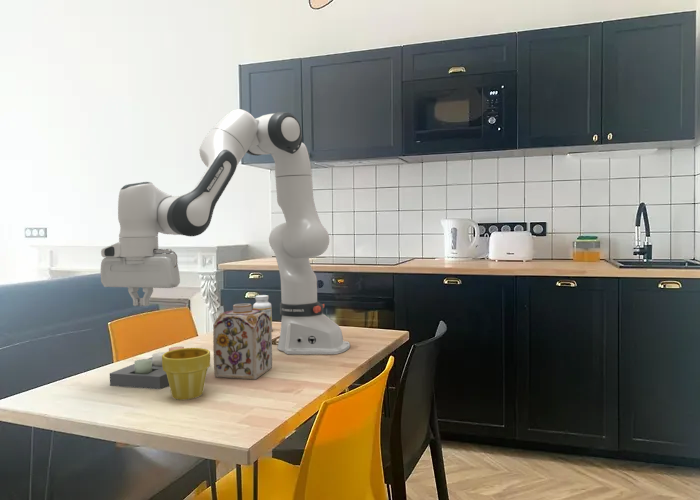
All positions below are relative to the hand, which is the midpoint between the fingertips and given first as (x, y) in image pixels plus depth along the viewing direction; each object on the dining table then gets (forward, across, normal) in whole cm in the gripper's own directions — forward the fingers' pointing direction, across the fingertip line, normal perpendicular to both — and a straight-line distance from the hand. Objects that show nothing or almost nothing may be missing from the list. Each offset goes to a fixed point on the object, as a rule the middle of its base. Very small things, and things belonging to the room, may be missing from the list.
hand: (141, 305), depth 132 cm
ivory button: (+17, 0, -7) cm, 18 cm away
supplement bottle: (+19, -1, -66) cm, 69 cm away
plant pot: (+19, -16, +6) cm, 26 cm away
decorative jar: (+19, -20, -14) cm, 31 cm away
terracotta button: (+17, 0, -14) cm, 22 cm away
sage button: (+17, 0, 0) cm, 17 cm away
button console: (+19, 0, -7) cm, 20 cm away
